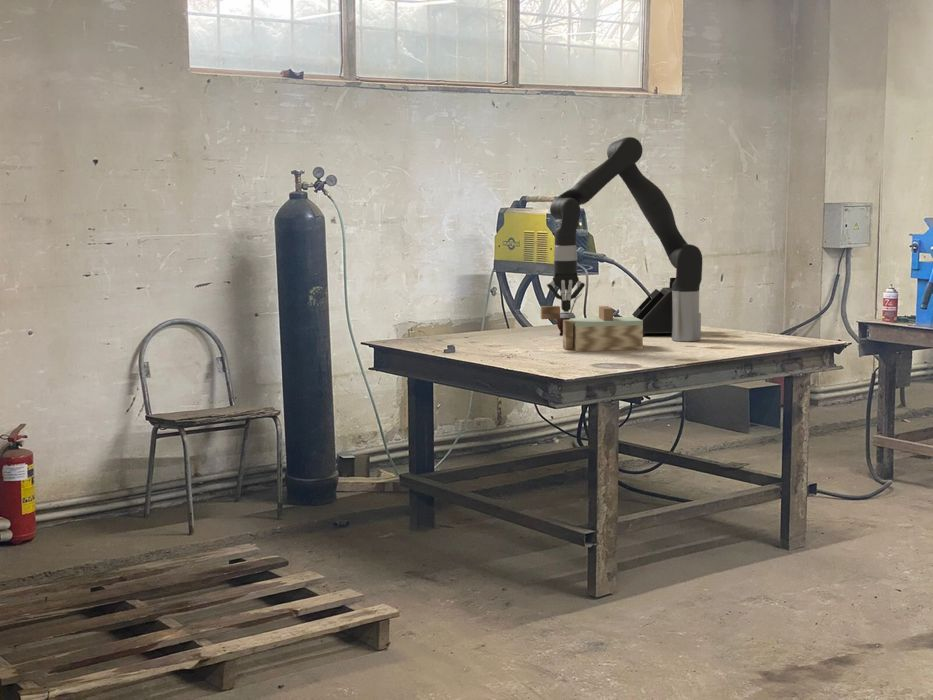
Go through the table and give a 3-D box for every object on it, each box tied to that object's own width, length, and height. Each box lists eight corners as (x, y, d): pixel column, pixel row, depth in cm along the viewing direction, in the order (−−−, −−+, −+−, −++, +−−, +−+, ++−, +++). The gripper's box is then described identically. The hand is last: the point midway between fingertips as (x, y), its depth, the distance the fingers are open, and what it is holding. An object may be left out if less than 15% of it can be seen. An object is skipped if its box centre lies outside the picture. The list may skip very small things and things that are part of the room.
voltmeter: (631, 331, 421) (631, 277, 418) (675, 331, 420) (676, 277, 418) (636, 337, 405) (636, 281, 402) (682, 336, 404) (682, 280, 402)
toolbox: (633, 344, 384) (634, 316, 383) (642, 349, 372) (642, 320, 371) (561, 346, 382) (561, 318, 381) (567, 351, 370) (567, 322, 369)
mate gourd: (552, 334, 414) (552, 294, 412) (567, 333, 419) (567, 292, 417) (567, 336, 408) (567, 295, 406) (582, 334, 413) (582, 293, 411)
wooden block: (558, 317, 376) (558, 305, 375) (560, 318, 373) (560, 306, 372) (540, 318, 375) (540, 306, 375) (542, 319, 372) (542, 307, 372)
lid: (634, 321, 383) (634, 304, 382) (642, 325, 371) (642, 308, 371) (569, 322, 381) (569, 306, 380) (576, 326, 369) (576, 310, 369)
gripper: (583, 258, 376) (583, 309, 379) (543, 259, 375) (544, 311, 377) (587, 259, 369) (588, 312, 371) (547, 260, 368) (548, 313, 370)
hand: (565, 311), depth 374 cm, fingers closed
